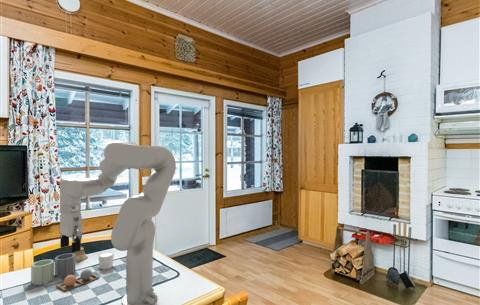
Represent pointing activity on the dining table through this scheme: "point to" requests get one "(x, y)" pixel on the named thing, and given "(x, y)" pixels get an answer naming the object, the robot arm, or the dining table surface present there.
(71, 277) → the terracotta ball
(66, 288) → the holder
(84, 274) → the grey ball
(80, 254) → the hand bell
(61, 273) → the grey ribbed bin
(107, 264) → the white cylinder
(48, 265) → the green ribbed pot
